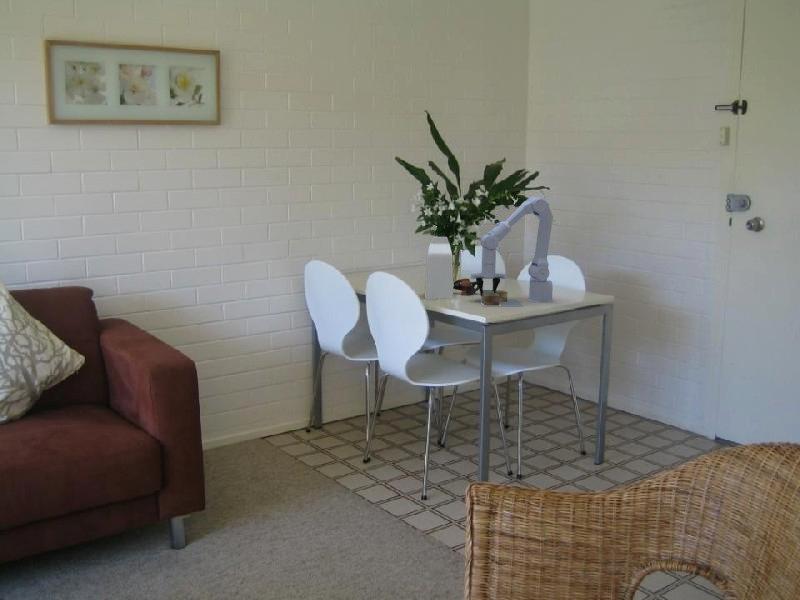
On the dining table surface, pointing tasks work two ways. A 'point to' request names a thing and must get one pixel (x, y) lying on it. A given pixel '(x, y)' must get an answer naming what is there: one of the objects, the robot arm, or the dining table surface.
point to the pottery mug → (466, 286)
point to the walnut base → (490, 299)
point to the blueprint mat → (504, 303)
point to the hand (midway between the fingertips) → (487, 295)
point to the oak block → (502, 295)
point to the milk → (439, 270)
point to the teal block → (487, 292)
